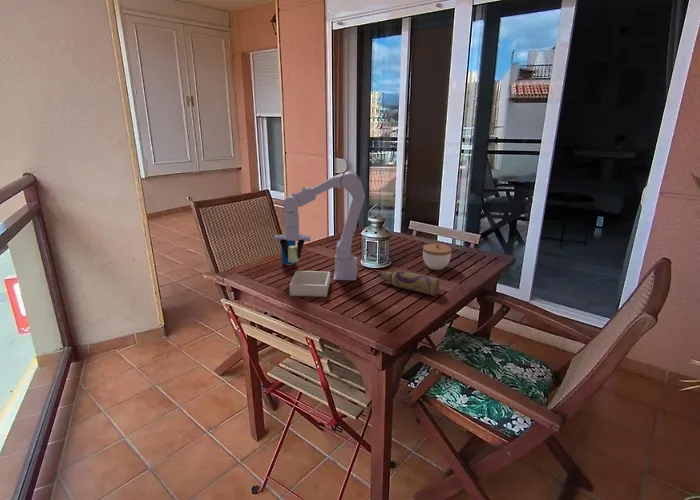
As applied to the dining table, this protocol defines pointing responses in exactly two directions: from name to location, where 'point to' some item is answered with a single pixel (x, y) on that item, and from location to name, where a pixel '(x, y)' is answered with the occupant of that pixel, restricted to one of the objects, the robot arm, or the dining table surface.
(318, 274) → the bin
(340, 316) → the dining table surface
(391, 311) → the dining table surface
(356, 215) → the robot arm
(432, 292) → the decorative bottle
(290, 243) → the beverage can
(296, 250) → the green cylinder
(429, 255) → the lidded bowl
